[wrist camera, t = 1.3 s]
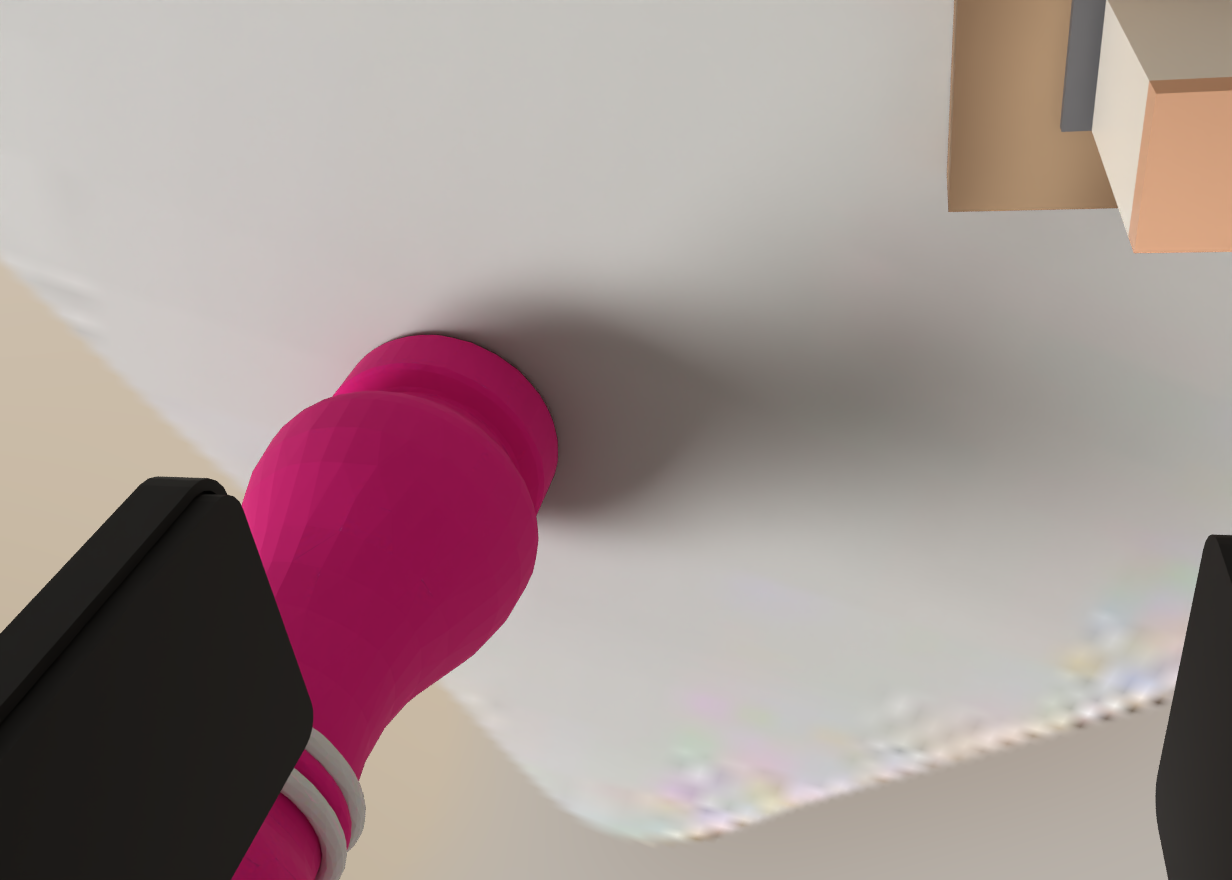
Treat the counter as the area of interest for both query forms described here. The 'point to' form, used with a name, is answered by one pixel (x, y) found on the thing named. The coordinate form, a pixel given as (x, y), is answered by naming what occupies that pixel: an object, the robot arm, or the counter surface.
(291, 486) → the pepper mill
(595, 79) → the counter surface
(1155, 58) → the terracotta-capped tab
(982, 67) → the wooden board
